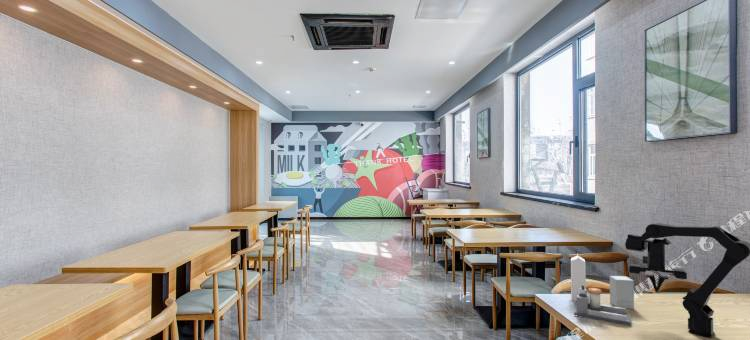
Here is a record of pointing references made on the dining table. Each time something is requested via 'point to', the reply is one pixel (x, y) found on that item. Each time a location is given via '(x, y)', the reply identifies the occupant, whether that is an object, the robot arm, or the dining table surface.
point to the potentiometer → (582, 291)
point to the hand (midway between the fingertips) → (656, 292)
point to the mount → (601, 312)
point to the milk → (577, 275)
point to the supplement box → (622, 291)
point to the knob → (594, 299)
